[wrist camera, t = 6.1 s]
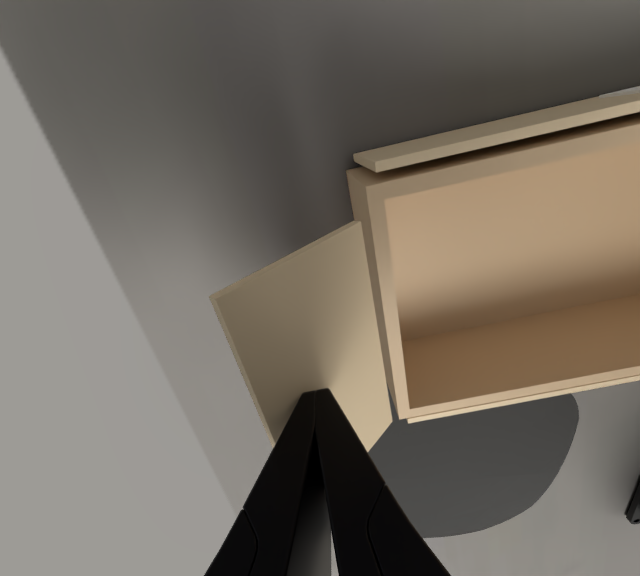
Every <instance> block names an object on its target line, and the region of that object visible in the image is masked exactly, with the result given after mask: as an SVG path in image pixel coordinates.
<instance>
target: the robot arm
mask: <svg viewBox="0 0 640 576" xmlns="http://www.w3.org/2000/svg"><path fill="white" fill-rule="evenodd" d="M243 509H244V510H243ZM243 509H242V510H241V511H240V513H239V515H238V517H237V519H236V521H235V523H234V525H233V526H232V528H231V530H230V532H229V534H228V535H227V537H226V539H225V541H224V543H223V545H222V547H221V548H220V550H219V552H218V553H217V555H216V557H215V558H214V560H213V562H212V563H211V565H210V566H209V568H208V570H207V572H206V573H205V575H204V576H331V531H332V537H333V543H334V549H335V555H336V561H337V567H338V573H339V576H451V575H450V574H449V572H448V571H447V570H446V569H445V567H444V566H443V565H442V563H441V562H440V561H439V559H438V558H437V557H436V556H435V554H434V553H433V552H432V550H431V549H430V548H429V547H428V545H427V544H426V542H425V541H424V540H423V538H422V537H421V536H420V534H419V533H418V531H417V530H416V529H415V527H414V526H413V525H412V523H411V522H410V520H409V519H408V517H407V516H406V514H405V513H404V511H403V509H402V508H401V506H400V505H399V503H398V502H397V500H396V498H395V497H394V495H393V493H392V492H391V490H390V489H389V487H388V485H386V482H385V480H384V479H383V477H382V475H381V474H380V472H379V470H378V469H377V467H376V465H375V464H374V462H373V460H372V459H371V457H370V455H369V454H368V452H367V450H366V449H365V447H364V445H363V444H362V442H361V440H360V439H359V437H358V435H357V434H356V432H355V430H354V429H353V427H352V425H351V424H350V422H349V420H348V419H347V417H346V415H345V414H344V412H343V410H342V409H341V407H340V405H339V404H338V402H337V400H336V399H335V397H334V395H333V394H332V392H331V390H330V389H329V388H323V389H318V390H316V391H315V390H313V391H308V392H304V393H302V394H301V396H300V398H299V400H298V402H297V404H296V406H295V408H294V410H293V412H292V414H291V415H290V417H289V419H288V421H287V423H286V425H285V427H284V429H283V431H282V433H281V435H280V437H279V438H278V440H277V442H276V444H275V446H274V448H273V450H272V452H271V454H270V456H269V458H268V460H267V461H266V463H265V465H264V467H263V469H262V471H261V473H260V475H259V477H258V479H257V481H256V483H255V484H254V486H253V488H252V490H251V492H250V494H249V496H248V498H247V500H246V502H245V504H244V506H243ZM626 518H627V519H628V520H629V522H630V523H631V524H639V523H640V483H639V485H638V488H637V491H636V493H635V496H634V498H633V501H632V503H631V506H630V509H629V511H628V514H627V516H626Z"/></svg>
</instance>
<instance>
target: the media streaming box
mask: <svg viewBox="0 0 640 576" xmlns="http://www.w3.org/2000/svg"><path fill="white" fill-rule="evenodd" d="M386 383H387V381H386ZM387 389H388V396H389V402H390V408H391V415H392V423H391V424H390V425H389V426H388V428H387V429H386V430H385V431H384V433H383V434H382V435H381V437H380V438H379V439H378V440H377V442H376V443H375V444H374V445H373V447H372V448H371V449H370V450H369V452H368V454H369V455H370V457H371V459H372V460H373V462H374V464H375V465H376V467H377V469H378V470H379V472H380V474H381V475H382V477H383V479H384V480H385V482H386V485H388V487H389V489H390V490H391V492H392V493H393V495H394V497H395V498H396V500H397V502H398V503H399V505H400V506H401V508H402V509H403V511H404V513H405V514H406V516H407V517H408V519H409V520H410V522H411V523H412V525H413V526H414V527H415V529H416V530H417V531H418V533H419V534H420V536H421V537H422V538H433V537H445V536H454V535H461V534H466V533H471V532H476V531H480V530H484V529H487V528H489V527H492V526H495V525H497V524H500V523H502V522H504V521H506V520H509V519H511V518H513V517H515V516H516V515H518V514H520V513H522V512H523V511H525V510H527V509H528V508H530V507H531V506H532V505H533V504H534V503H535V502H536V501H537V500H538V499H539V498H540V497H541V496H542V495H543V494H544V492H545V491H546V490H547V489H548V487H549V486H550V485H551V483H552V482H553V480H554V478H555V477H556V475H557V474H558V472H559V470H560V468H561V466H562V464H563V462H564V460H565V458H566V456H567V453H568V451H569V448H570V446H571V443H572V440H573V437H574V434H575V431H576V428H577V424H578V419H579V413H578V406H577V403H576V401H575V399H574V397H573V396H572V394H571V393H569V394H564V395H558V396H553V397H548V398H542V399H537V400H532V401H526V402H521V403H515V404H510V405H505V406H499V407H494V408H489V409H483V410H478V411H473V412H467V413H462V414H457V415H451V416H446V417H441V418H435V419H430V420H424V421H419V422H414V423H408V422H407V419H406V418H405V419H400V420H399V417H398V414H397V411H396V408H395V405H394V402H393V399H392V396H391V393H390V390H389V387H388V384H387Z"/></svg>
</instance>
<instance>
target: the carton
mask: <svg viewBox="0 0 640 576" xmlns="http://www.w3.org/2000/svg"><path fill="white" fill-rule="evenodd" d="M353 157H354V161H355V162H357V163H358V164H360V165H362V167H358V168H353V169H349V170H346V175H347V181H348V187H349V193H350V199H351V205H352V210H353V216H354V221H361V225H362V231H363V238H364V244H365V250H366V257H367V263H368V269H369V276H370V282H371V288H372V295H373V301H374V307H375V314H376V320H377V326H378V332H379V339H380V345H381V351H382V358H383V364H384V370H385V377H386V381H387V384H388V387H389V390H390V393H391V396H392V399H393V402H394V405H395V408H396V411H397V414H398V417H399V420H400V419H405V418H406V419H407V422H408V423H414V422H419V421H424V420H430V419H435V418H441V417H446V416H451V415H457V414H462V413H467V412H473V411H478V410H483V409H489V408H494V407H499V406H505V405H510V404H515V403H521V402H526V401H532V400H537V399H542V398H548V397H553V396H558V395H564V394H569V393H574V392H580V391H585V390H590V389H596V388H601V387H606V386H612V385H617V384H622V383H628V382H633V381H639V380H640V86H637V87H633V88H629V89H624V90H620V91H616V92H612V93H607V94H603V95H599V96H598V97H593V98H589V99H585V100H580V101H576V102H572V103H568V104H563V105H559V106H555V107H551V108H546V109H542V110H538V111H534V112H529V113H525V114H521V115H517V116H512V117H508V118H504V119H500V120H495V121H491V122H487V123H483V124H478V125H474V126H470V127H466V128H461V129H457V130H453V131H449V132H444V133H440V134H436V135H432V136H427V137H423V138H419V139H414V140H410V141H406V142H402V143H397V144H393V145H389V146H385V147H380V148H376V149H372V150H368V151H363V152H359V153H355V154H353Z"/></svg>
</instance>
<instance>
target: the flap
mask: <svg viewBox="0 0 640 576" xmlns="http://www.w3.org/2000/svg"><path fill="white" fill-rule="evenodd" d="M209 298H210V300H211V302H212V305H213V307H214V310H215V312H216V314H217V317H218V319H219V321H220V324H221V326H222V329H223V331H224V333H225V336H226V338H227V340H228V343H229V345H230V347H231V350H232V352H233V355H234V357H235V359H236V362H237V364H238V366H239V369H240V371H241V374H242V376H243V378H244V381H245V383H246V385H247V388H248V390H249V392H250V395H251V397H252V400H253V402H254V404H255V407H256V409H257V411H258V414H259V416H260V418H261V421H262V423H263V426H264V428H265V430H266V433H267V435H268V437H269V440H270V442H271V445H272V447H273V448H274V446H275V444H276V442H277V440H278V438H279V437H280V435H281V433H282V431H283V429H284V427H285V425H286V423H287V421H288V419H289V417H290V415H291V414H292V412H293V410H294V408H295V406H296V404H297V402H298V400H299V398H300V396H301V394H302V393H304V392H308V391H313V390H315V391H316V390H318V389H323V388H329V389H330V390H331V392H332V394H333V395H334V397H335V399H336V400H337V402H338V404H339V405H340V407H341V409H342V410H343V412H344V414H345V415H346V417H347V419H348V420H349V422H350V424H351V425H352V427H353V429H354V430H355V432H356V434H357V435H358V437H359V439H360V440H361V442H362V444H363V445H364V447H365V449H366V450H367V452H369V450H370V449H371V448H372V447H373V445H374V444H375V443H376V442H377V440H378V439H379V438H380V437H381V435H382V434H383V433H384V431H385V430H386V429H387V428H388V426H389V425H390V424H391V423H392V415H391V408H390V402H389V396H388V389H387V383H386V377H385V370H384V364H383V358H382V351H381V345H380V339H379V332H378V326H377V320H376V314H375V307H374V301H373V295H372V288H371V282H370V276H369V269H368V263H367V257H366V250H365V244H364V238H363V231H362V225H361V221H352V222H350V223H348V224H346V225H344V226H342V227H340V228H339V229H337V230H335V231H333V232H331V233H329V234H327V235H325V236H323V237H321V238H319V239H317V240H316V241H314V242H312V243H310V244H308V245H306V246H304V247H302V248H300V249H298V250H296V251H295V252H293V253H291V254H289V255H287V256H285V257H283V258H281V259H279V260H277V261H275V262H274V263H272V264H270V265H268V266H266V267H264V268H262V269H260V270H258V271H256V272H254V273H253V274H251V275H249V276H247V277H245V278H243V279H241V280H239V281H237V282H235V283H233V284H232V285H230V286H228V287H226V288H224V289H222V290H220V291H218V292H216V293H214V294H212V295H211V296H209Z"/></svg>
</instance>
